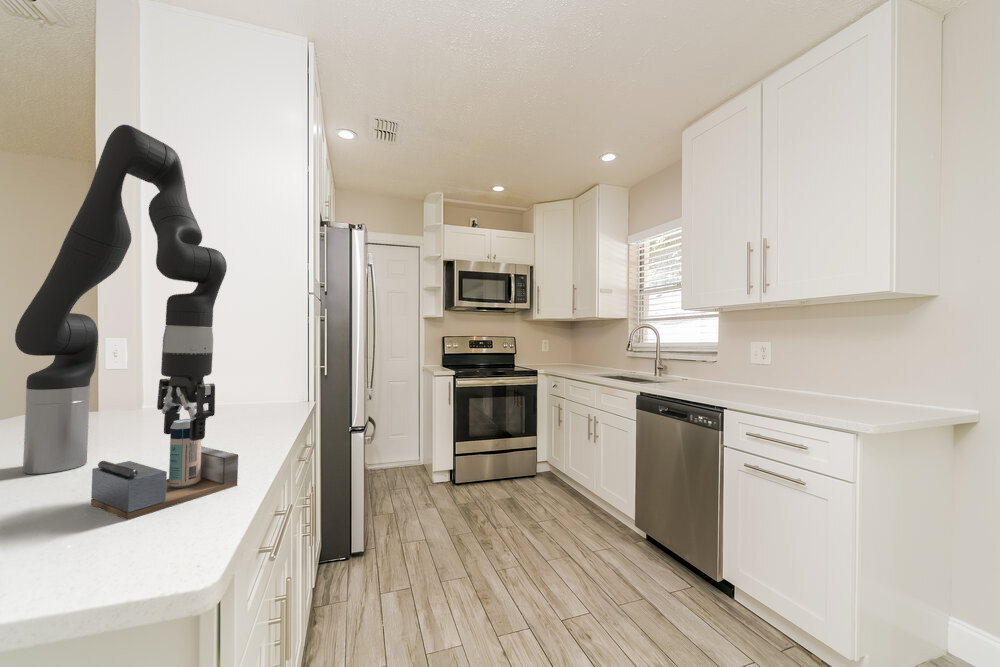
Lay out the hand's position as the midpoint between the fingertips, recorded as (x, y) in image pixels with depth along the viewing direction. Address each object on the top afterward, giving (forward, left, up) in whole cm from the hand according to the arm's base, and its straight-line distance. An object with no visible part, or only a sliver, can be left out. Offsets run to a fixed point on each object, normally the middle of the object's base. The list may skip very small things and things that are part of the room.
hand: (183, 436), depth 75 cm
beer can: (0, 0, -9) cm, 9 cm away
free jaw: (0, -8, -9) cm, 12 cm away
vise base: (0, -2, -10) cm, 10 cm away
